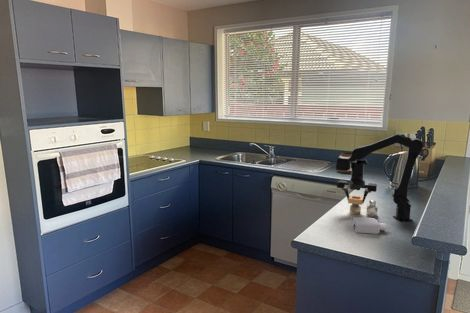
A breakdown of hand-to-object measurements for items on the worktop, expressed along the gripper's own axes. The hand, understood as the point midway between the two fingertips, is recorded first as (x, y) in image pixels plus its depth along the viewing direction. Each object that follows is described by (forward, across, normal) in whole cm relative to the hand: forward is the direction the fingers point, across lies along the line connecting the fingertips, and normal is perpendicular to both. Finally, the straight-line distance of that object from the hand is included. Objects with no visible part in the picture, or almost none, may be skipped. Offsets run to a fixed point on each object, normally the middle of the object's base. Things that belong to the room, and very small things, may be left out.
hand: (355, 202), depth 172 cm
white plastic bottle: (+6, +10, -20) cm, 23 cm away
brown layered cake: (+6, -19, +101) cm, 103 cm away
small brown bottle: (+6, 0, 0) cm, 6 cm away
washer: (0, 0, 0) cm, 0 cm away
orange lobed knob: (+6, +8, 0) cm, 10 cm away
